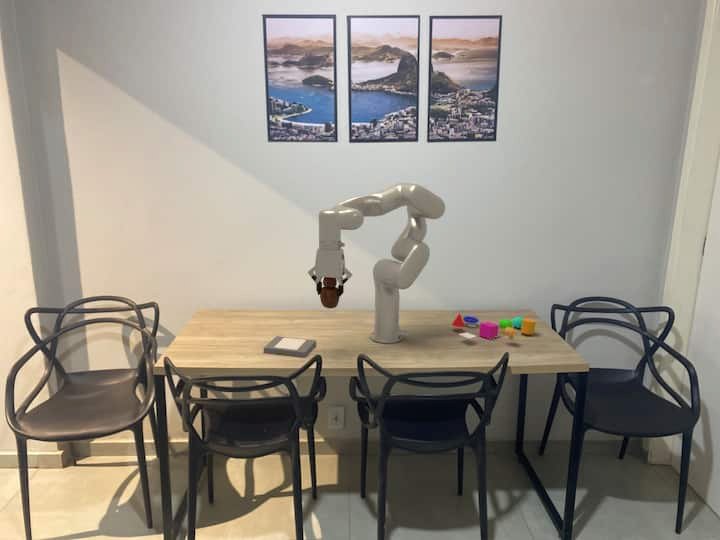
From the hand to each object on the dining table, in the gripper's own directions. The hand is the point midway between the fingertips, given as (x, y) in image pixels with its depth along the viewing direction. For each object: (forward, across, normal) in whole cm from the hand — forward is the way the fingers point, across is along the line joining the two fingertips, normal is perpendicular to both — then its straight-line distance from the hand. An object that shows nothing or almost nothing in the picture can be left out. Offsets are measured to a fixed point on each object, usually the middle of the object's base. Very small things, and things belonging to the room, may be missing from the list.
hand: (329, 294), depth 185 cm
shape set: (+23, -57, -36) cm, 71 cm away
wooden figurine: (+5, 0, 0) cm, 5 cm away
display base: (+23, +16, 0) cm, 27 cm away
